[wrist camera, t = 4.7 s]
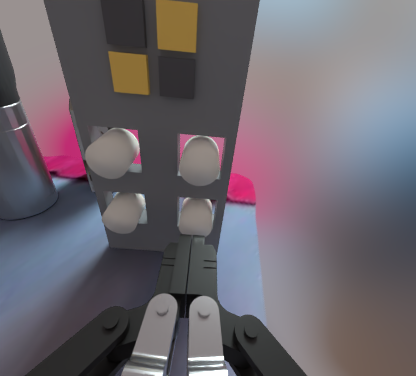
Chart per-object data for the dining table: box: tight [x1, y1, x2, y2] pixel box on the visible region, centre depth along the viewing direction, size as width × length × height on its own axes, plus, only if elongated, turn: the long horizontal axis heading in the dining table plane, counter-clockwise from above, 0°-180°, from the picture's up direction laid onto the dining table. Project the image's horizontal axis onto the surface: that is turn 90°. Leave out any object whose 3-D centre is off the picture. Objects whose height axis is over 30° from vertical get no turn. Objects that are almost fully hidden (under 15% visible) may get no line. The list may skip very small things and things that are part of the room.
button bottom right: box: [179, 198, 212, 237], centre depth 27 cm, size 4×4×4 cm
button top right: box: [179, 135, 220, 186], centre depth 22 cm, size 4×4×4 cm
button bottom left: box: [102, 192, 145, 234], centre depth 26 cm, size 4×4×4 cm
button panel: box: [44, 0, 260, 255], centre depth 26 cm, size 9×16×30 cm, turn 89°
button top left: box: [85, 128, 140, 179], centre depth 22 cm, size 4×4×4 cm
